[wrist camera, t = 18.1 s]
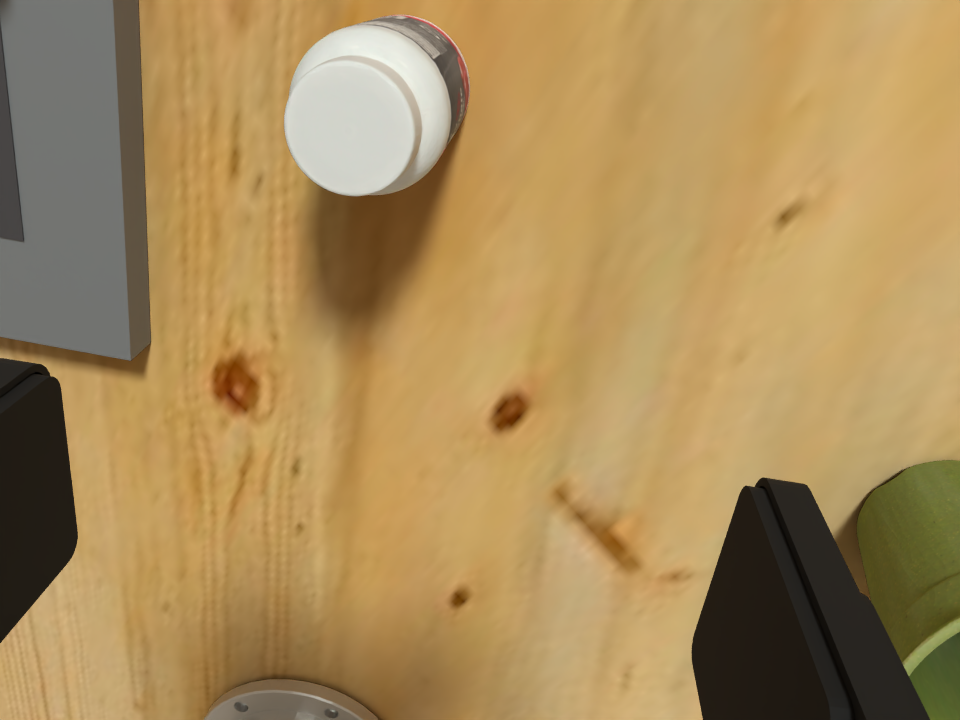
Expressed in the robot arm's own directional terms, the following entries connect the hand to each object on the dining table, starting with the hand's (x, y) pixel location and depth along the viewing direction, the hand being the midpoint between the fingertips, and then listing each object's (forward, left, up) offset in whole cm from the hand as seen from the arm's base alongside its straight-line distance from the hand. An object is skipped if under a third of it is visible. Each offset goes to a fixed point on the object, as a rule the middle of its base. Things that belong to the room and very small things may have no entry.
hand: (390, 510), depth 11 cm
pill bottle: (+4, +2, -25) cm, 25 cm away
